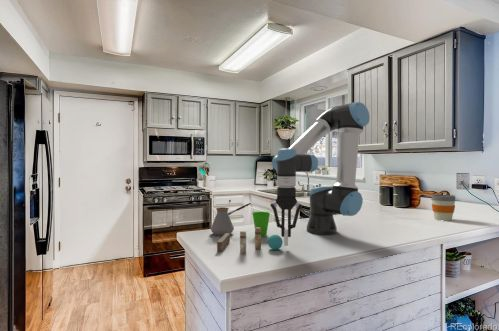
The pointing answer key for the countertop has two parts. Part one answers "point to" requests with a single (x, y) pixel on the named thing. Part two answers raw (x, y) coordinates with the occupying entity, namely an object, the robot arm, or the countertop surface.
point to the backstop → (223, 242)
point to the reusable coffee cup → (443, 206)
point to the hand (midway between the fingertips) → (286, 244)
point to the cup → (261, 221)
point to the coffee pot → (223, 221)
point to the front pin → (257, 238)
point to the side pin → (242, 242)
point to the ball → (275, 242)
